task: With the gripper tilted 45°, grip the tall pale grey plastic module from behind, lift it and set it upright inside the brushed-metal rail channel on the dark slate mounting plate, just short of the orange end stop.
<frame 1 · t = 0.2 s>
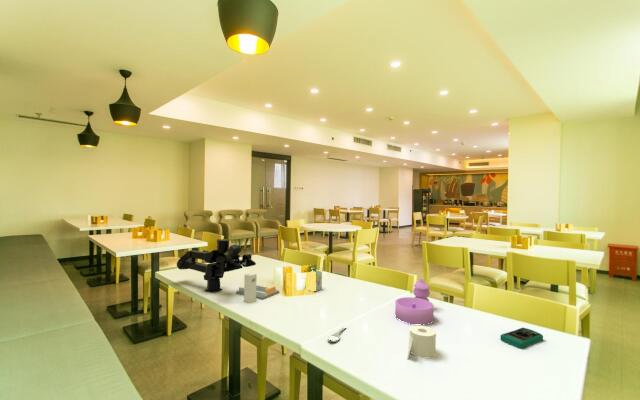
hand: (249, 265, 150), 17 cm above the table, tool horizontal, fingers open, 9 cm apart
ink box: (315, 290, 166), on the table
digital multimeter: (521, 342, 110), on the table
rail module: (250, 301, 147), on the table
spoon: (340, 333, 114), on the table
toilet paper: (417, 353, 100), on the table
rail mount: (257, 293, 160), on the table
container set: (416, 315, 134), on the table
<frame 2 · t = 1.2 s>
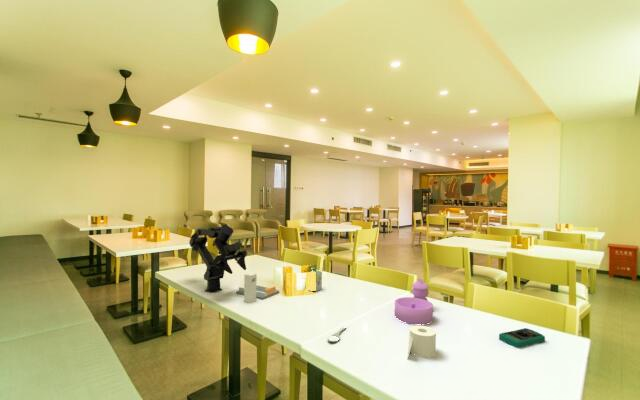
hand: (238, 271, 151), 13 cm above the table, tool tilted 45°, fingers open, 9 cm apart
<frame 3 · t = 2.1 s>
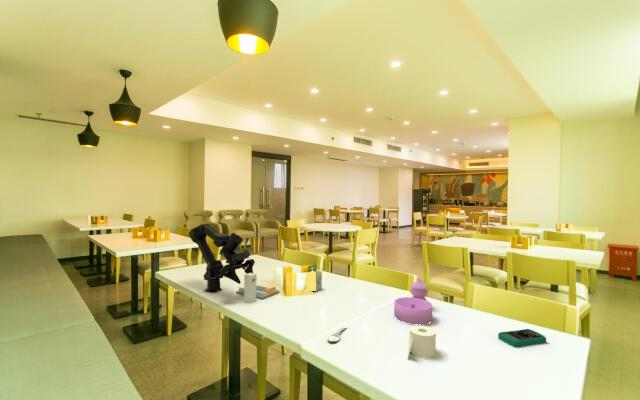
hand: (247, 281, 148), 9 cm above the table, tool tilted 45°, fingers open, 9 cm apart
nothing on the table moved.
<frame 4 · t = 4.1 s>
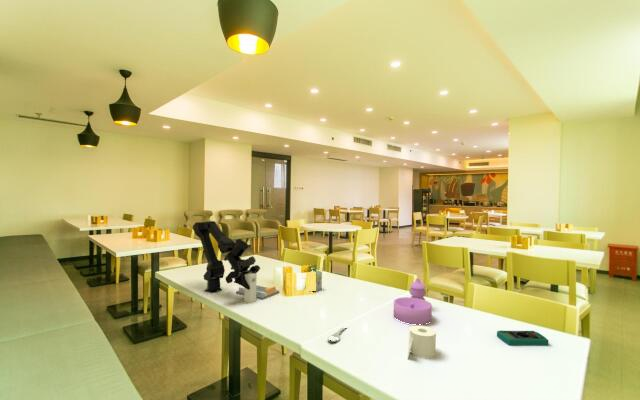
hand: (252, 287, 146), 7 cm above the table, tool tilted 45°, fingers closed on rail module, 4 cm apart
rail module: (250, 301, 147), on the table, touching gripper
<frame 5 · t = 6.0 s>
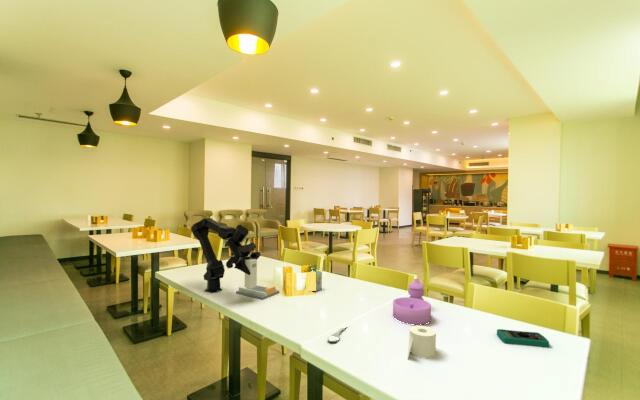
hand: (252, 273, 146), 13 cm above the table, tool tilted 45°, fingers closed on rail module, 4 cm apart
rail module: (250, 286, 147), point 7 cm above the table, touching gripper
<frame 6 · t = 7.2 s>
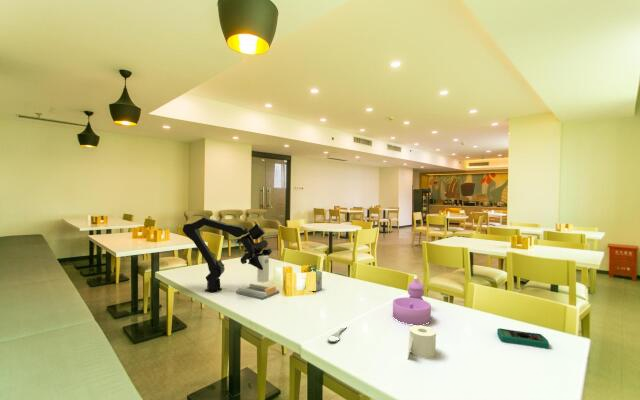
hand: (265, 268, 157), 13 cm above the table, tool tilted 45°, fingers closed on rail module, 4 cm apart
rail module: (262, 281, 158), point 7 cm above the table, touching gripper
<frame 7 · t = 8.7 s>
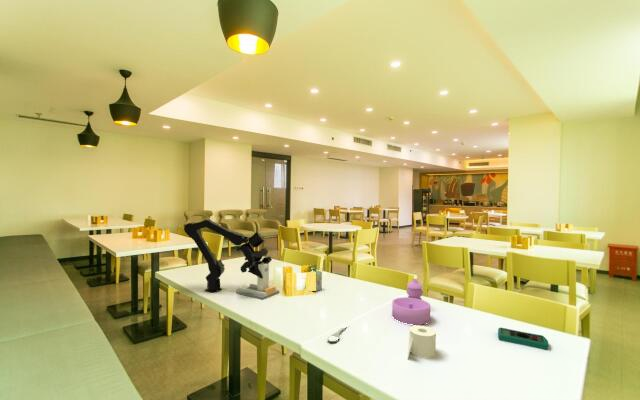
hand: (265, 277, 157), 9 cm above the table, tool tilted 45°, fingers closed on rail module, 4 cm apart
rail module: (262, 289, 158), point 2 cm above the table, touching gripper
when the fingers open (9 cm above the table, at t = 8.8 s): rail module drops 1 cm, resting on rail mount.
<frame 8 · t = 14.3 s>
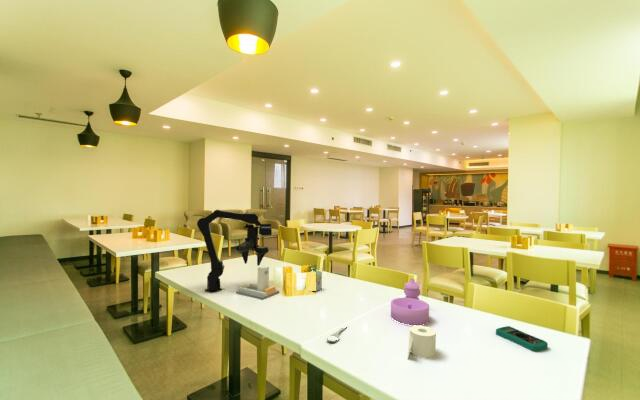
hand: (252, 264, 168), 13 cm above the table, tool pointing down, fingers open, 9 cm apart
rail module: (263, 292, 158), point 1 cm above the table, touching rail mount
at the end: rail module 0.0 cm from the target spot on the rail mount, point 1.0 cm above the rail mount's base; rail module tilted 0°; the gripper is holding nothing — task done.
